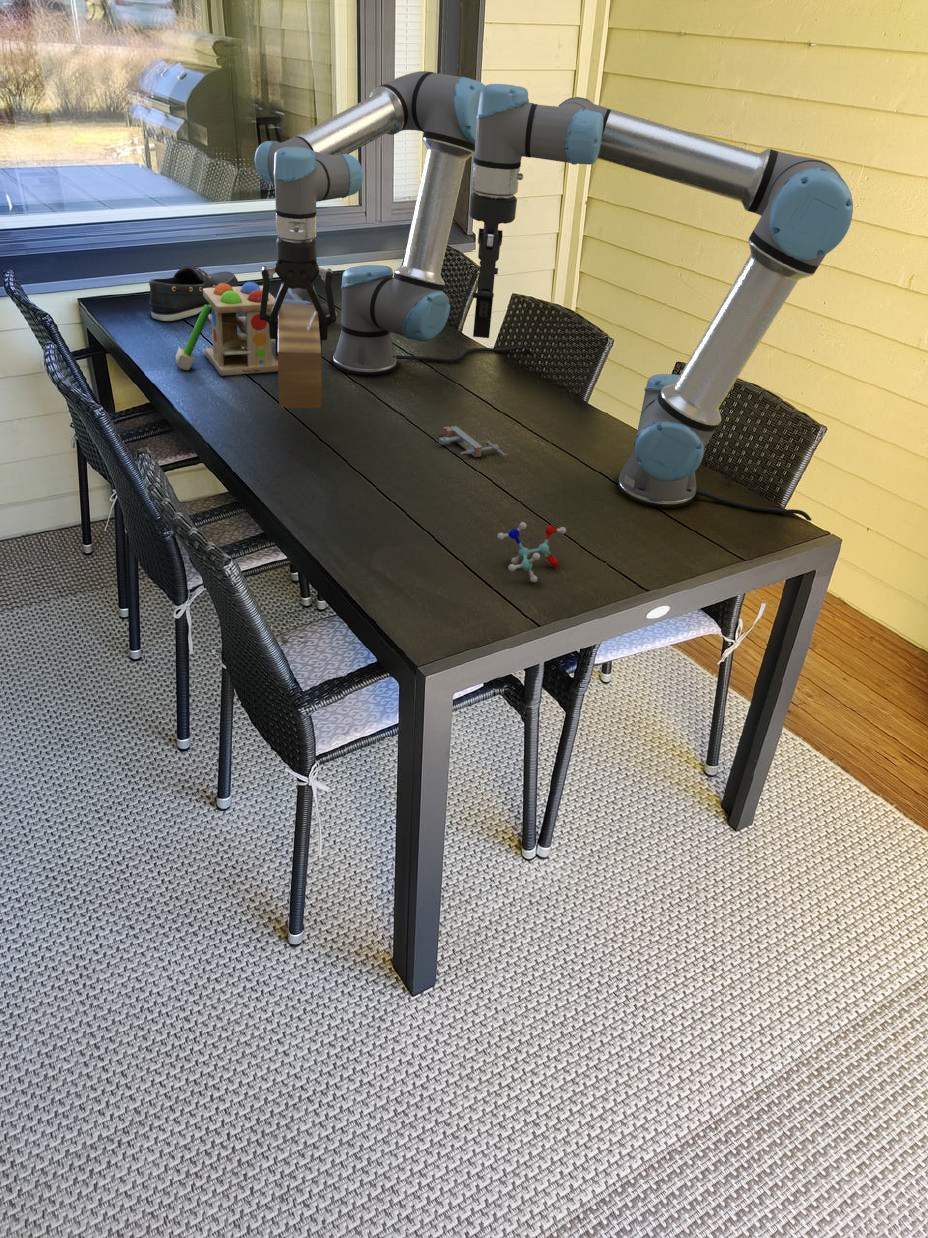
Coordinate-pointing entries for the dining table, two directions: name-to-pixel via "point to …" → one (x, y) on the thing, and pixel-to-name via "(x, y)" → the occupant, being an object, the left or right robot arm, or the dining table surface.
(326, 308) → the power drill
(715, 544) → the dining table surface
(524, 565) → the molecular model
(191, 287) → the boat shoe
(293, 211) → the left robot arm
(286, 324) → the box
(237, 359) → the pounding bench toy
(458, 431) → the clamp
